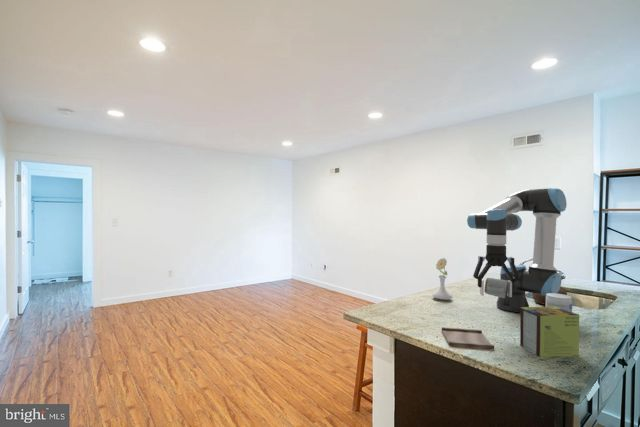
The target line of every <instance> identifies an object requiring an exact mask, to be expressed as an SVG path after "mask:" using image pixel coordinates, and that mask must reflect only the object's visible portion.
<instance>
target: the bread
mask: <svg viewBox="0 0 640 427" xmlns="http://www.w3.org/2000/svg"><path fill="white" fill-rule="evenodd" d="M557 294H564V295H568V291H567V290H566V289H565V287H563V286H560V289H559V291H558V292H557ZM531 295H532V300H534V301H535V302H537V303H538V304H541V305H543V306H544V305H545V306H546V295H540V294H535V293H531Z"/></svg>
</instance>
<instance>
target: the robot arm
mask: <svg viewBox="0 0 640 427" xmlns="http://www.w3.org/2000/svg"><path fill="white" fill-rule="evenodd" d="M567 206H568V205H567V197H566V195H565V193H564V191H563V190H562V189H560V188H556V187H555V188H551V187H549V188H548V187H547V188H536V189H535V188H533V189H524V190H521V191H518V192H514V193H512V194H510V195H508V196H507V197H505V198H504V200H503V201H501V202H499V203H497V204H495V205H493V206H491V207H489V208H487V209H485V210H483V211H481V212H478V213H477V212H474V213H470V214H469V215H468V217H467V220H466V222H467V226H468V227H469V228H470V229H476V230H486V247H485V248H486V252H485V253H486V254H485V256H482V255H478V257H477V258H478V260H477V264H476V267H475V270H474V272H473V275H472V277H473V278H474V279H477V287H479V295H481V296H483V297H484V294H485V283H484V282H485V281H484V277H485V276H486V275H487V273H488V271H489V270H490V269H491V268H492V267H501V268H500V274H499V275H500V276H499V277H500V279H501V280H507V288H506V295H505V298H501V297H497V300H496V307H497V308H498V309H501V310H504V311H508V312H514V313H520V308H521V307H530V304H529V302H528V298H527V296H526V293H531V294H533V293H535V294H540V295H546V294H547V293H557V292H558V291H559V289H560V286H561V285H562V275H561V274H560V273H558V270H557V268H556V267H555V266H554V262H555V261H554V260H555V249H556V248H555V245H556V234H557V218H560V216H561V213H563V212H564V211H565V210H566V209H567ZM519 212H532V215H533V216H534V217H535V228H534V230H535V231H534V242H533V255H532V256H533V257H532V263H531V264H529V266H528V269H527V267H526V266H525V265H523V264H522V265H520V264H519V265H516V264H515V258H514V257H512V256H510V257H509V256H507V246H506V245H507V231H512V232H513V231H516V230H518V229H520V228H521V227H522V224H523V220H522V217H520V216H519V214H516V213H519ZM485 260H486V264H485V265H484V267H483V268H482V266H483V263H484V262H485ZM506 262H508V264H509V265H506ZM481 269H482V270H481ZM561 287H562V286H561Z"/></svg>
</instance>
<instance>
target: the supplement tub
mask: <svg viewBox="0 0 640 427" xmlns="http://www.w3.org/2000/svg"><path fill="white" fill-rule="evenodd" d="M572 298H573V297H572V296H570V295H568V294H567V295H564V294H557V293H547V294H546V305H545V307H551V306H557V307H559V308H562V309H565V310H567V311H570V312H573V300H572Z"/></svg>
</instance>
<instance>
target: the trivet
mask: <svg viewBox="0 0 640 427" xmlns="http://www.w3.org/2000/svg"><path fill="white" fill-rule="evenodd" d="M441 333H442V334H443V336H444V338H445V341H446V343H447V344H448V346H449V347H456V348H457V347H459V348H467V349H468V348H469V349H478V348H481V349H480V350H490V349H494V350H495V345H494V344H491V342H490V340H488V339H487V337H486V336H485V334H484V333H483V330H482V329H472V328H459V327H445V326H443V327H441Z"/></svg>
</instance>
